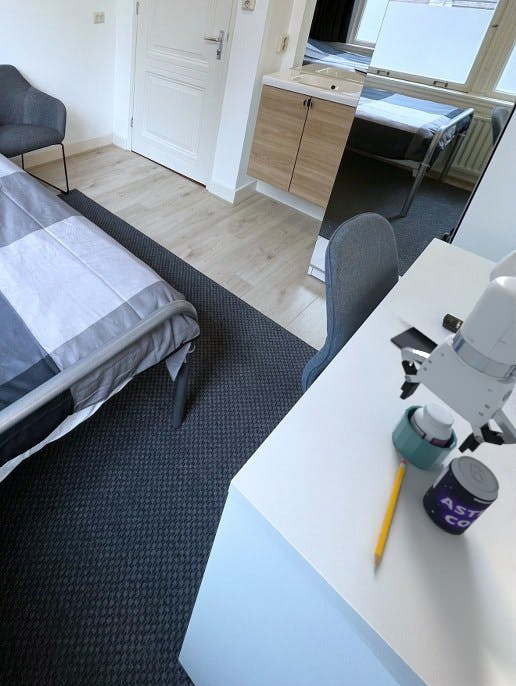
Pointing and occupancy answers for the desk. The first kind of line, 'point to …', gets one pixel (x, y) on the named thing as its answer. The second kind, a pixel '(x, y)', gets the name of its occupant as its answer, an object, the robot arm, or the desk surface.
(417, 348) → the dark grey rectangular plate
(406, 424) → the cup
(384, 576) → the desk surface
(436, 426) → the pill bottle
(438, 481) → the beverage can
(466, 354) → the robot arm
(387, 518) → the pencil
